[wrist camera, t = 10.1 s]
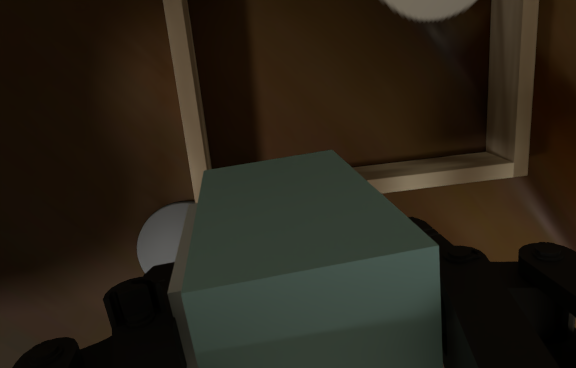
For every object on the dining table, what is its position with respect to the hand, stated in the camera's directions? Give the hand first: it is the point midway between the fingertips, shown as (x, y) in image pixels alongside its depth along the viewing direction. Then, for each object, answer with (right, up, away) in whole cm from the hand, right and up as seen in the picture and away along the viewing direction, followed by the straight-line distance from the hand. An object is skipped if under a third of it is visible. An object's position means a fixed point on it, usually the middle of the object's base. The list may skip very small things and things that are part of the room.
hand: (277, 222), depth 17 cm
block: (0, 0, 0) cm, 0 cm away
